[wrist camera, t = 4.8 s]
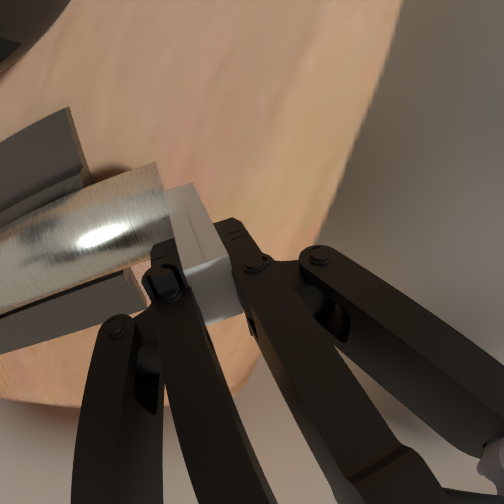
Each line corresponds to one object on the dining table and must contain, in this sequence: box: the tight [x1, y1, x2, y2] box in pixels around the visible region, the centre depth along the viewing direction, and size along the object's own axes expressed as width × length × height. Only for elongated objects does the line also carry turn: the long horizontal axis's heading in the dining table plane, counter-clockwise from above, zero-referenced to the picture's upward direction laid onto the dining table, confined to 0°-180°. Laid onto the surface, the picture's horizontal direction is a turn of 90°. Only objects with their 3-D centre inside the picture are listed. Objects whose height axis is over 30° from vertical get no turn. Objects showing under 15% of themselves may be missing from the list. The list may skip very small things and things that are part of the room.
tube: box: [0, 162, 174, 315], centre depth 12 cm, size 18×4×4 cm, turn 99°
